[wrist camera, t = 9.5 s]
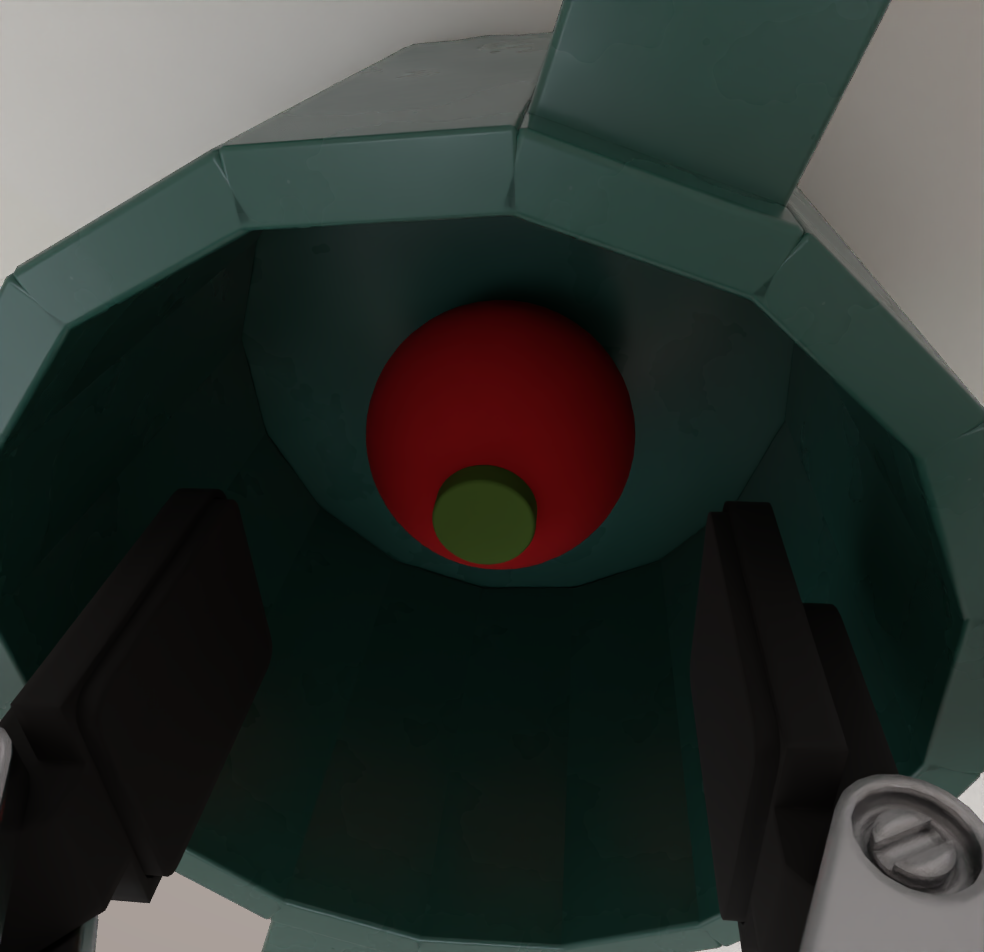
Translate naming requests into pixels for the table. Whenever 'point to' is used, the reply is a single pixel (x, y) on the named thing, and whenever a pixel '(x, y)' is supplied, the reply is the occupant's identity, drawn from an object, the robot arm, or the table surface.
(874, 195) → the table surface
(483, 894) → the pot
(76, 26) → the table surface
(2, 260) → the table surface
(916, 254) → the table surface
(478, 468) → the berry
